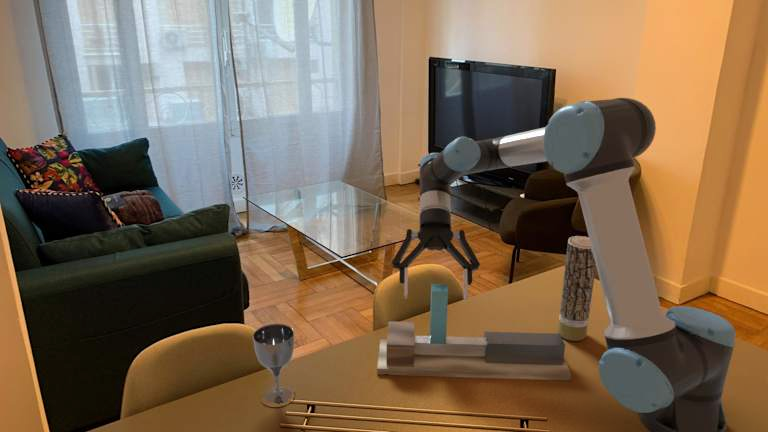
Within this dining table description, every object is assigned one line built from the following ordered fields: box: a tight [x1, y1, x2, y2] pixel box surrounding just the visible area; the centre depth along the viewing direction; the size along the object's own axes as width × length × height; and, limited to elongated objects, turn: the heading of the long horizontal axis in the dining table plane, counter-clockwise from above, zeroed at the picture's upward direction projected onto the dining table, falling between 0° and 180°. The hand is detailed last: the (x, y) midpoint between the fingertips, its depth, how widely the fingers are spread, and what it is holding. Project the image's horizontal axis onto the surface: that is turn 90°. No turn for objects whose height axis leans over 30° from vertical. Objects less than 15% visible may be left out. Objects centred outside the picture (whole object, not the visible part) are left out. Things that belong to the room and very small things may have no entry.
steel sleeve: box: [483, 331, 566, 365], centre depth 129 cm, size 5×17×5 cm, turn 87°
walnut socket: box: [386, 321, 415, 367], centre depth 130 cm, size 10×6×6 cm, turn 177°
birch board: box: [376, 338, 572, 381], centre depth 131 cm, size 12×42×2 cm, turn 87°
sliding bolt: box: [414, 283, 486, 356], centre depth 128 cm, size 4×27×16 cm, turn 87°
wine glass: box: [252, 323, 295, 404], centre depth 116 cm, size 8×8×15 cm
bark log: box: [557, 235, 597, 342], centre depth 138 cm, size 7×7×25 cm
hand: (435, 297), depth 130 cm, fingers open, 13 cm apart
